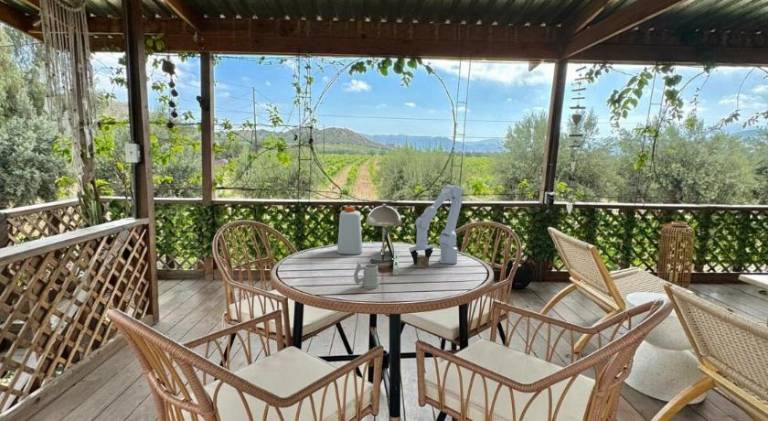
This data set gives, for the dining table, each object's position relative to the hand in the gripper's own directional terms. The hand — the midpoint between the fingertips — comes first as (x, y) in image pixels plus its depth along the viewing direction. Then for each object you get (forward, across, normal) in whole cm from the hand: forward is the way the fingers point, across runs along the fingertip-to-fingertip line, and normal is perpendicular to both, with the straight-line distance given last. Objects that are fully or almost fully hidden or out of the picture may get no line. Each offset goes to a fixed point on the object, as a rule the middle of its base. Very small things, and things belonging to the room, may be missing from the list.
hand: (421, 262), depth 209 cm
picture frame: (+2, +8, -26) cm, 27 cm away
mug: (+2, +41, +17) cm, 44 cm away
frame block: (+2, 0, 0) cm, 2 cm away
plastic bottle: (+2, +26, -41) cm, 49 cm away
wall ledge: (+1, +14, -3) cm, 15 cm away
